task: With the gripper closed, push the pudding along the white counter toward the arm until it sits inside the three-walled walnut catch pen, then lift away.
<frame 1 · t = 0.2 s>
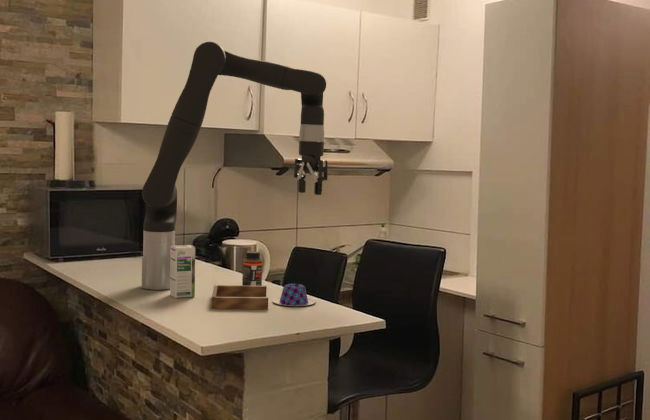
hand: (309, 193, 221), 29 cm above the counter, fingers open, 8 cm apart
syrup box: (182, 296, 208), on the counter
pudding: (293, 304, 204), on the counter
catch pen: (241, 302, 203), on the counter
supplement bottle: (251, 289, 222), on the counter
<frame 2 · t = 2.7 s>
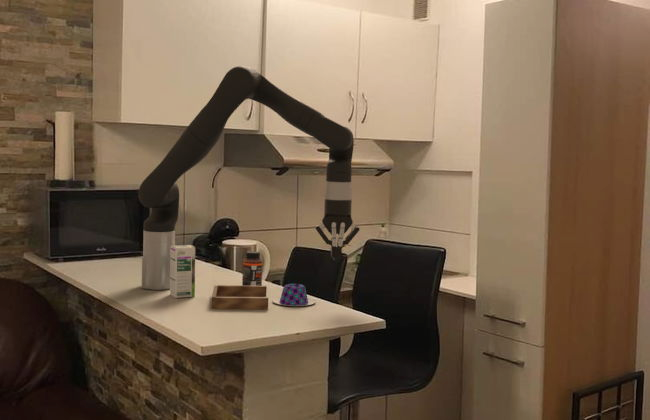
hand: (336, 259, 204), 12 cm above the counter, fingers closed
nothing on the counter moved.
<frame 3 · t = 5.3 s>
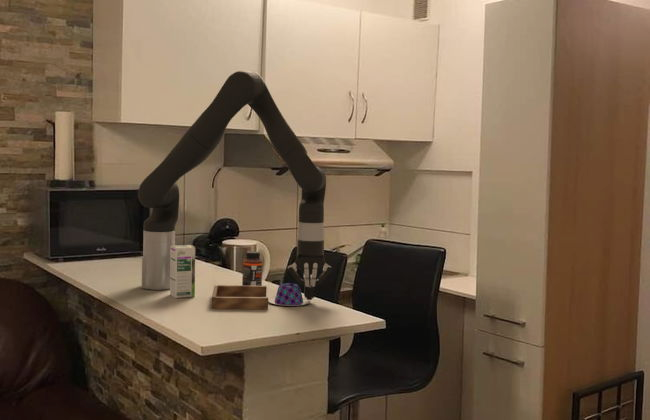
hand: (309, 299, 205), 1 cm above the counter, fingers closed
pudding: (288, 304, 204), on the counter, touching gripper
everything else where it was.
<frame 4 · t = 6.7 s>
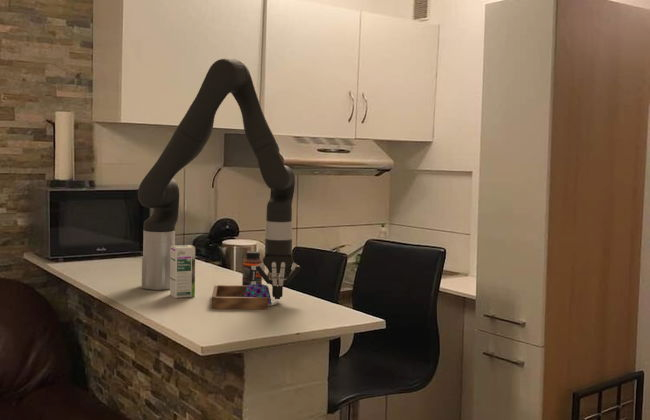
hand: (277, 298, 204), 1 cm above the counter, fingers closed
pudding: (257, 304, 202), on the counter
everything else where it was.
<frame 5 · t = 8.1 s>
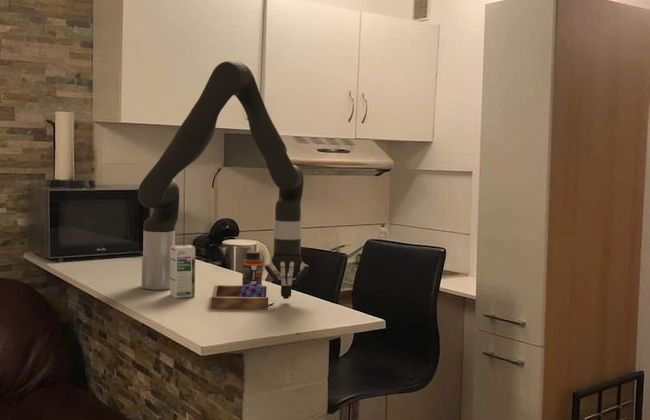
hand: (286, 298, 203), 1 cm above the counter, fingers closed
pudding: (252, 304, 202), on the counter
everything else where it was.
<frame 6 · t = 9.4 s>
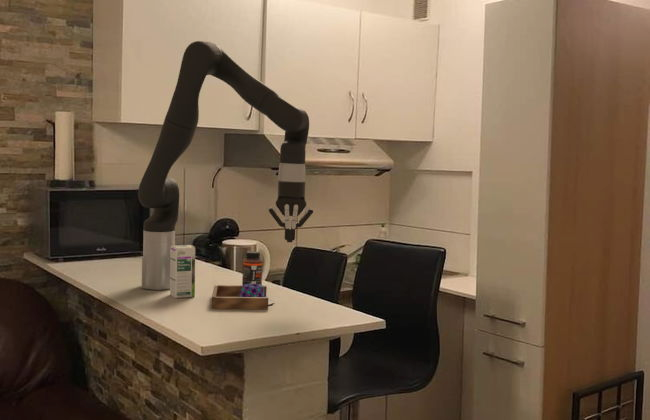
hand: (289, 241, 203), 17 cm above the counter, fingers closed
nothing on the counter moved.
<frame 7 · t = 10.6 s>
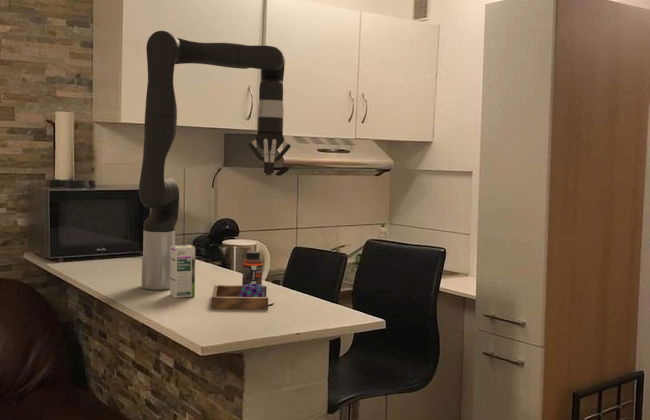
hand: (268, 175, 216), 35 cm above the counter, fingers closed
nothing on the counter moved.
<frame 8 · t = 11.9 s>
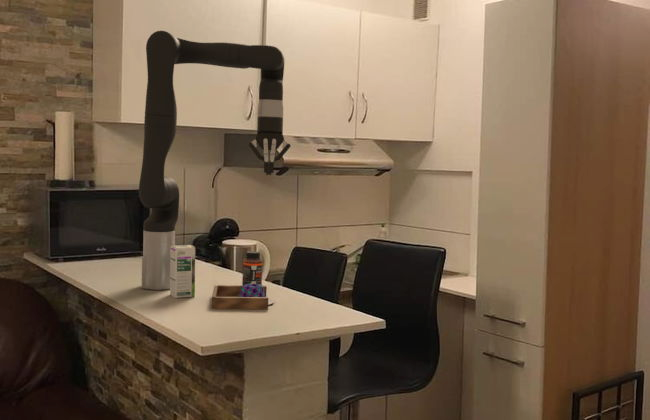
hand: (268, 174, 216), 35 cm above the counter, fingers closed
nothing on the counter moved.
at the end: pudding inside the target area (2.5 cm from its centre), on the counter; pudding tilted 0° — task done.
